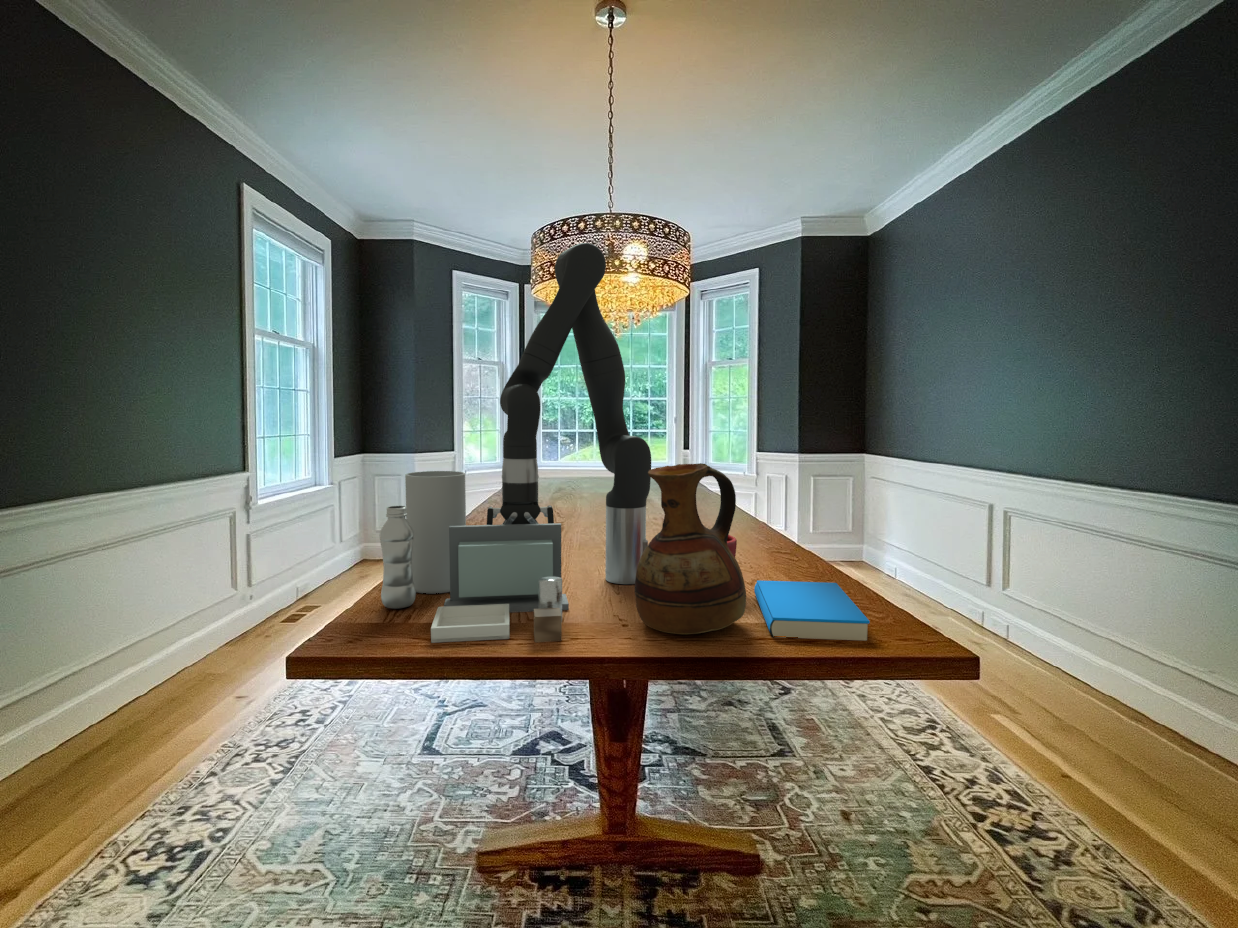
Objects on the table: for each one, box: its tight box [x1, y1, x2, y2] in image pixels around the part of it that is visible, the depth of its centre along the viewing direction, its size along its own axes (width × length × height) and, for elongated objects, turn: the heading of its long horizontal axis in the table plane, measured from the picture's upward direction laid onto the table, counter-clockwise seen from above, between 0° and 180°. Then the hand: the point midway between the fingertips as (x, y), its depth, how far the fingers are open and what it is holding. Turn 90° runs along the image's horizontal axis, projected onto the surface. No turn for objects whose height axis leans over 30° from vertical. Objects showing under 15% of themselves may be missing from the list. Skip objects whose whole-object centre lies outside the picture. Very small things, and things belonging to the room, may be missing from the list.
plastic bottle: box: [379, 505, 417, 610], centre depth 129 cm, size 6×7×20 cm
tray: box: [430, 604, 510, 644], centre depth 117 cm, size 13×12×2 cm
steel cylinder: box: [538, 576, 563, 617], centre depth 121 cm, size 4×4×8 cm
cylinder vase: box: [404, 470, 467, 595], centre depth 143 cm, size 12×12×25 cm
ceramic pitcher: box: [634, 463, 747, 635], centre depth 119 cm, size 20×20×30 cm
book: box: [753, 580, 871, 642], centre depth 126 cm, size 17×4×25 cm
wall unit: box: [442, 522, 570, 613], centre depth 130 cm, size 24×7×16 cm, turn 100°
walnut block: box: [533, 608, 563, 643], centre depth 113 cm, size 4×4×4 cm
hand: (520, 555), depth 140 cm, fingers open, 8 cm apart
